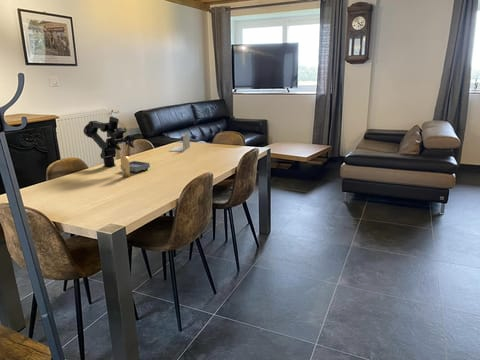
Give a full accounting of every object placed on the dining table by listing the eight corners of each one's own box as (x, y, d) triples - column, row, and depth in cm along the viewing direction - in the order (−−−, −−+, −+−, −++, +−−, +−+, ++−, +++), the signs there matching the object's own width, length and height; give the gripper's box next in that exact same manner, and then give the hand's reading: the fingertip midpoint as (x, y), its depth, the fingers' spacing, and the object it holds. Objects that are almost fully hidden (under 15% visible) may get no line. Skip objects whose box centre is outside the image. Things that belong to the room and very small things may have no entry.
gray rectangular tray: (121, 171, 237) (120, 164, 235) (134, 167, 247) (134, 160, 245) (136, 173, 230) (135, 167, 229) (150, 169, 240) (149, 163, 238)
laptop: (176, 147, 312) (175, 132, 308) (190, 147, 310) (189, 132, 307) (169, 151, 295) (168, 135, 291) (184, 151, 293) (183, 135, 290)
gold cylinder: (120, 177, 223) (118, 157, 220) (126, 175, 227) (123, 155, 224) (127, 178, 221) (124, 158, 218) (132, 176, 225) (130, 156, 222)
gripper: (102, 126, 225) (115, 139, 218) (128, 122, 239) (141, 135, 232) (100, 141, 231) (112, 154, 225) (126, 137, 245) (139, 149, 238)
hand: (127, 148), depth 229 cm, fingers open, 9 cm apart
